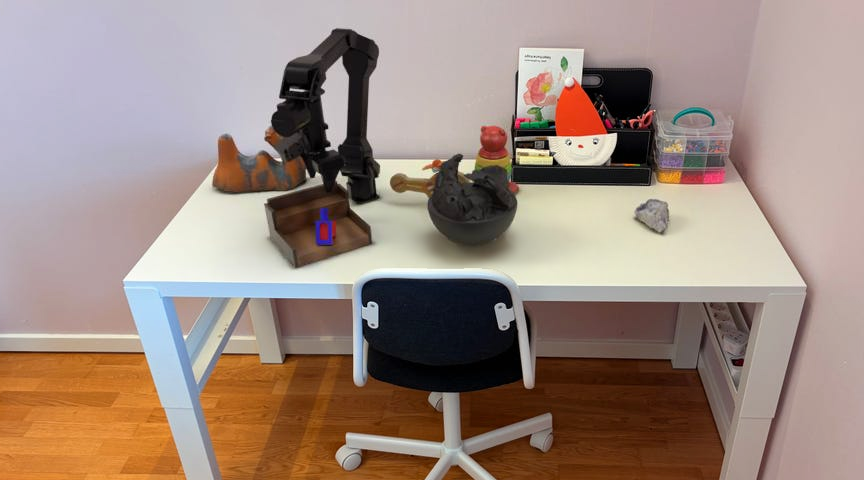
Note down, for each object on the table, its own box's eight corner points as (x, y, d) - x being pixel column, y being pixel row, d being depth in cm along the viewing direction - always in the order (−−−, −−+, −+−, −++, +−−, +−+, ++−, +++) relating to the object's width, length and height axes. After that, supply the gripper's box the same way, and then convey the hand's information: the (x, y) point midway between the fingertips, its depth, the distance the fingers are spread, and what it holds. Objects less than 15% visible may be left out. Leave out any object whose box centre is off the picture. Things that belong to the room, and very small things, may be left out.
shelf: (343, 216, 178) (338, 179, 173) (372, 243, 167) (368, 204, 161) (270, 238, 170) (263, 199, 165) (295, 268, 159) (288, 227, 153)
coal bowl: (520, 262, 158) (521, 183, 148) (428, 264, 158) (423, 186, 148) (513, 218, 175) (514, 145, 165) (430, 221, 175) (426, 148, 165)
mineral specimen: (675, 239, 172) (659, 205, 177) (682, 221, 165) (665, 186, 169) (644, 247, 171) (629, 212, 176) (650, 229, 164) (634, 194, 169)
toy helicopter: (466, 220, 175) (464, 167, 168) (386, 210, 181) (381, 159, 173) (475, 205, 182) (474, 154, 174) (398, 196, 187) (394, 146, 180)
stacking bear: (521, 189, 189) (523, 123, 179) (502, 204, 182) (502, 137, 172) (486, 180, 194) (485, 116, 184) (465, 195, 187) (463, 129, 177)
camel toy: (207, 194, 191) (193, 131, 182) (228, 172, 202) (215, 112, 193) (299, 197, 188) (288, 134, 179) (315, 176, 199) (306, 115, 190)
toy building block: (336, 243, 165) (335, 208, 165) (332, 244, 161) (331, 208, 160) (320, 243, 165) (320, 208, 165) (316, 244, 161) (315, 208, 161)
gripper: (260, 115, 161) (272, 179, 169) (291, 142, 147) (303, 210, 156) (307, 104, 166) (316, 167, 174) (341, 129, 152) (350, 196, 161)
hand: (320, 185), depth 166 cm, fingers open, 9 cm apart
